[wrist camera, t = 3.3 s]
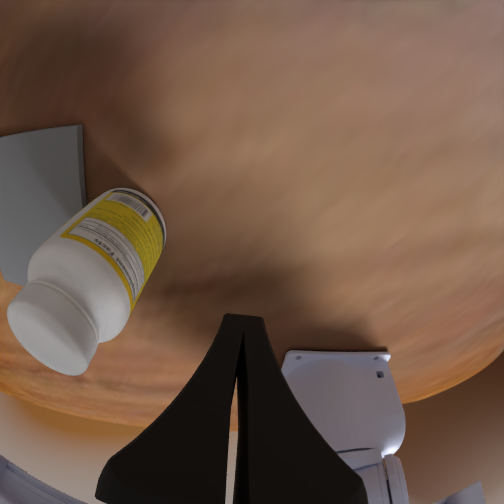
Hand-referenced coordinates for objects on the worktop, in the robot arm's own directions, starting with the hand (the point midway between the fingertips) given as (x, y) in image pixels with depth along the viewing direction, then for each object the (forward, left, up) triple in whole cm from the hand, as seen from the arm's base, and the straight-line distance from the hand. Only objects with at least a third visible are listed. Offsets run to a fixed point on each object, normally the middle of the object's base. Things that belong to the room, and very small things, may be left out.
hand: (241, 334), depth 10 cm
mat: (+16, 0, -7) cm, 18 cm away
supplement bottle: (+7, 0, -8) cm, 11 cm away
